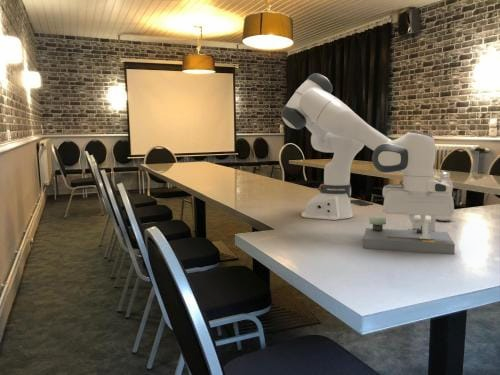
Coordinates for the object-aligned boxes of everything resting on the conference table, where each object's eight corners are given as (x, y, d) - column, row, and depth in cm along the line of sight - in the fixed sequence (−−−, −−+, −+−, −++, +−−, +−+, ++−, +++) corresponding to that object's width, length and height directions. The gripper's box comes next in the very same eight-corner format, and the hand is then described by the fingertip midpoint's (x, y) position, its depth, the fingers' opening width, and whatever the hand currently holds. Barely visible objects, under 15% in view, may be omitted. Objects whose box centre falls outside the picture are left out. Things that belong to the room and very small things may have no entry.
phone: (361, 199, 224) (374, 203, 209) (361, 201, 224) (373, 206, 210) (347, 200, 223) (359, 204, 208) (347, 202, 223) (359, 206, 208)
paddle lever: (419, 239, 126) (420, 222, 126) (418, 235, 131) (419, 219, 130) (431, 239, 125) (431, 222, 125) (429, 236, 130) (430, 220, 129)
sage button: (369, 224, 139) (369, 219, 139) (370, 221, 144) (370, 216, 144) (385, 225, 137) (385, 219, 137) (385, 222, 142) (385, 216, 142)
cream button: (414, 222, 135) (414, 217, 134) (413, 219, 139) (413, 214, 139) (431, 223, 133) (431, 218, 133) (430, 220, 138) (430, 215, 138)
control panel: (363, 248, 130) (363, 232, 130) (365, 236, 145) (365, 222, 145) (454, 254, 122) (455, 237, 122) (446, 240, 137) (447, 226, 137)
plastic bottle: (454, 222, 166) (456, 172, 163) (436, 222, 167) (437, 172, 165) (449, 219, 172) (451, 171, 170) (432, 219, 173) (434, 171, 171)
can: (433, 229, 155) (435, 197, 153) (435, 233, 148) (437, 200, 146) (412, 228, 157) (413, 196, 156) (413, 232, 150) (414, 199, 149)
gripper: (382, 184, 127) (381, 229, 129) (456, 186, 121) (453, 233, 122) (382, 182, 133) (381, 225, 134) (453, 184, 126) (450, 228, 128)
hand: (416, 229), depth 128 cm, fingers closed
